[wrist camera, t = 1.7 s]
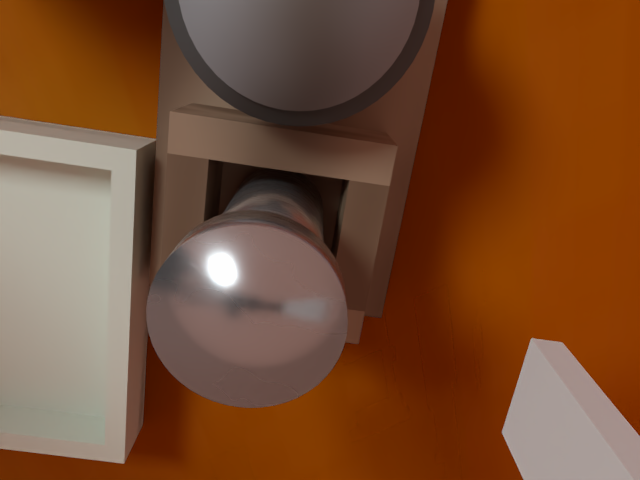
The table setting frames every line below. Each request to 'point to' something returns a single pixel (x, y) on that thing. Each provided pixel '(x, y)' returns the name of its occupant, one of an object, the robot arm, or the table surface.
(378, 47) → the block
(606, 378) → the table surface
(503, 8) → the table surface
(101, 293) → the tray
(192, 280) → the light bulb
